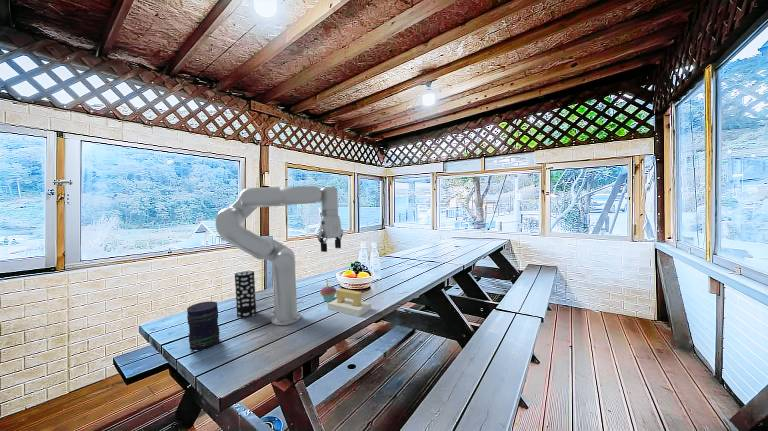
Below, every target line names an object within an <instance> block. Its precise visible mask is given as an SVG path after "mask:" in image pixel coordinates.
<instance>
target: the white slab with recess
mask: <svg viewBox="0 0 768 431" xmlns="http://www.w3.org/2000/svg"><path fill="white" fill-rule="evenodd" d="M327 310H329V311H334V312H337V313H341V314H346V315H350V316H355V317H362V315H364V314H366V313H367V312H369V311H370V310H372V302H367V301H363V300H361V306H359V307H355V306H354V303H353V300H352V299H347V298H345V302H343V303H337V298H336V299H333V300H332V301H328V302H327Z"/></svg>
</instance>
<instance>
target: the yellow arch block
mask: <svg viewBox="0 0 768 431" xmlns="http://www.w3.org/2000/svg"><path fill="white" fill-rule="evenodd" d="M335 295H336V299H337V303H343V302H345V298H347V299H352V300H353V303H354V306H355V307H359V306H361V301H362V291H357V290H352V289H346V288H338V289H336V294H335Z"/></svg>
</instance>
